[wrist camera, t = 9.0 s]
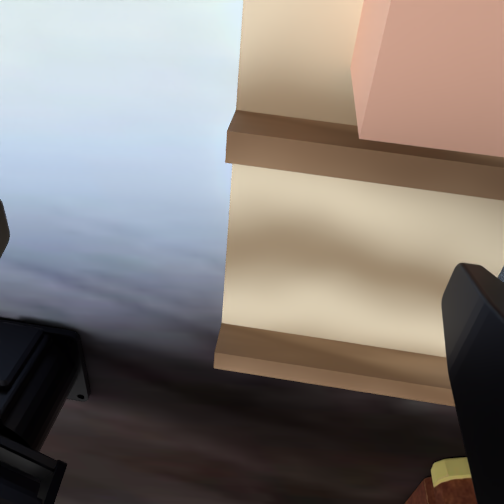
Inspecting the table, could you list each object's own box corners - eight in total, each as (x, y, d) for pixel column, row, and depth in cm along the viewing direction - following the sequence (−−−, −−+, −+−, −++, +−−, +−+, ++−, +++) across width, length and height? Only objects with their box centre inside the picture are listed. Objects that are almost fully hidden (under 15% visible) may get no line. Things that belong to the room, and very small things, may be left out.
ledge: (441, 352, 26) (455, 406, 23) (225, 318, 27) (213, 368, 24) (761, -303, 12) (897, -364, 9) (273, -344, 12) (258, -413, 10)
